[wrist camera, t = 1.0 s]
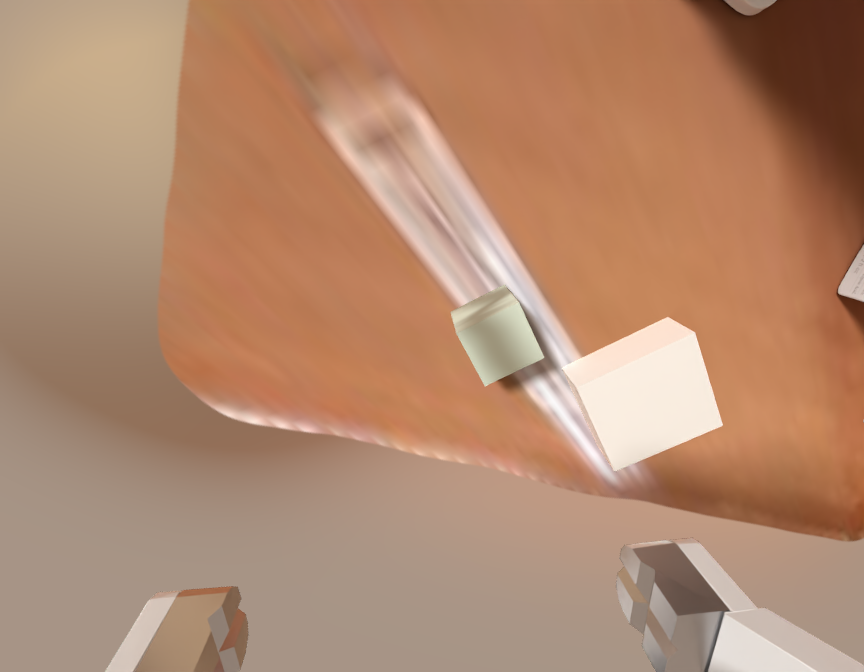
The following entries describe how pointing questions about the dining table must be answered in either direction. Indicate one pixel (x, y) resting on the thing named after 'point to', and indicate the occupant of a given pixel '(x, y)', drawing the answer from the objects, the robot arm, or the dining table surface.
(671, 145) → the dining table surface
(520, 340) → the sage cube
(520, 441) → the dining table surface
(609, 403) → the painted block
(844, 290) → the skincare box
